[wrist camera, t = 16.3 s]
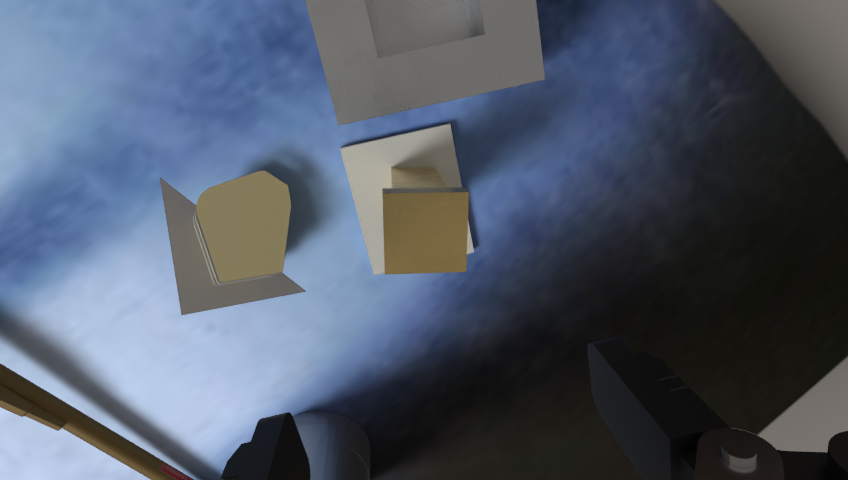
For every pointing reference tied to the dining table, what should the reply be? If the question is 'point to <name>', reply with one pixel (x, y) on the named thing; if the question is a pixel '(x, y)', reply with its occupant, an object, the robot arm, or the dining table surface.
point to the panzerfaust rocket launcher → (78, 425)
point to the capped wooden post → (424, 223)
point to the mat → (373, 173)
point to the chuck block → (422, 51)
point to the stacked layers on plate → (230, 242)
